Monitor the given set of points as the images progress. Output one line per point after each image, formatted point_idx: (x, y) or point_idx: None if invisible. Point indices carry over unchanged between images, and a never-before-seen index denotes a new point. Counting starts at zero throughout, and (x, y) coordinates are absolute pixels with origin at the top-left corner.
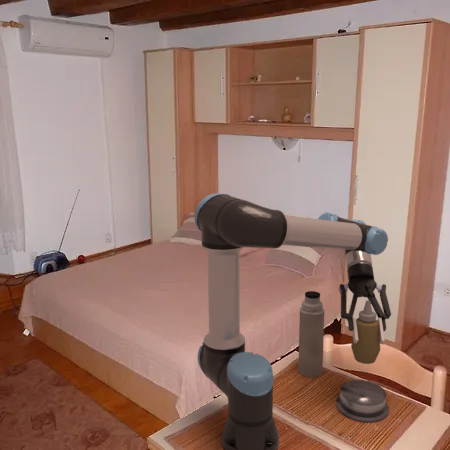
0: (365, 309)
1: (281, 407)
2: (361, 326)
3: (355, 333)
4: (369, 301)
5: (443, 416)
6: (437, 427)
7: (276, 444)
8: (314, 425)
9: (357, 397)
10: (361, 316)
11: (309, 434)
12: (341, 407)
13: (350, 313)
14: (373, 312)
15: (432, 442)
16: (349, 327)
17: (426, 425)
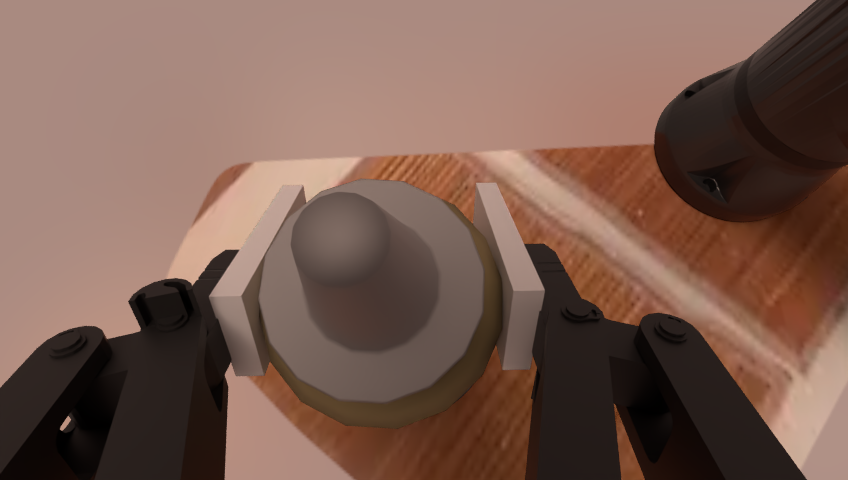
0: (410, 232)
1: (664, 311)
2: (456, 209)
3: (501, 204)
4: (314, 225)
5: None
6: (208, 236)
7: (668, 112)
8: (561, 227)
9: None
10: (463, 226)
11: (575, 189)
12: None
13: (589, 335)
14: (280, 315)
15: (252, 172)
16: (555, 257)
17: (236, 243)
